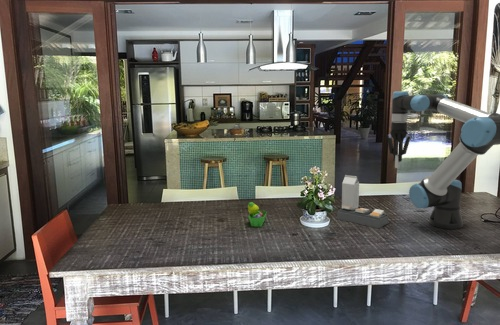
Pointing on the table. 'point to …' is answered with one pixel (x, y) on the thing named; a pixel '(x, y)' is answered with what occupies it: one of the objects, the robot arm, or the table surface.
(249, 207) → the chick basket toy
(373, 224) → the switch panel
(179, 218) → the table surface
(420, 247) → the table surface
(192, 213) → the table surface
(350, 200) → the milk carton
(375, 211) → the near rocker
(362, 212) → the middle rocker
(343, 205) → the far rocker
